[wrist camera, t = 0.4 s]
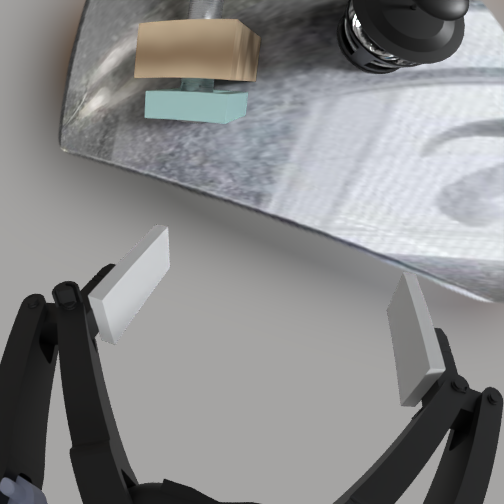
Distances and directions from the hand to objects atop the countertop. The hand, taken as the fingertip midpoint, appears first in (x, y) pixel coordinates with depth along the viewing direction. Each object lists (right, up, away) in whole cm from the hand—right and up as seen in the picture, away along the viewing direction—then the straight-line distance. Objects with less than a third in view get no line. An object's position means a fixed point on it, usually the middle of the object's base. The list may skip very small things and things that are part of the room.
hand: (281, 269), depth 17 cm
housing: (-6, +26, +17) cm, 31 cm away
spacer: (-7, +20, +19) cm, 29 cm away
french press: (+14, +27, +12) cm, 33 cm away
